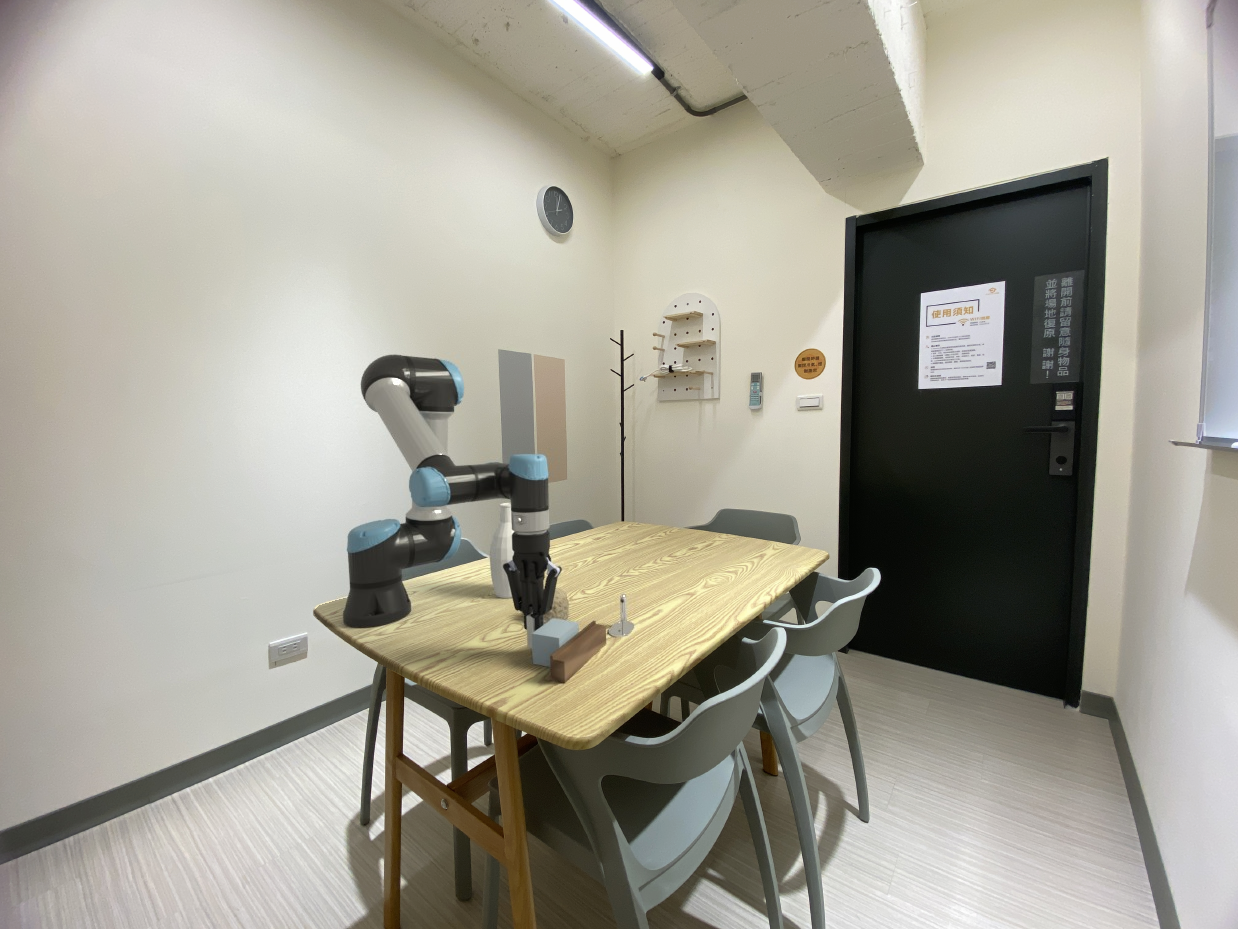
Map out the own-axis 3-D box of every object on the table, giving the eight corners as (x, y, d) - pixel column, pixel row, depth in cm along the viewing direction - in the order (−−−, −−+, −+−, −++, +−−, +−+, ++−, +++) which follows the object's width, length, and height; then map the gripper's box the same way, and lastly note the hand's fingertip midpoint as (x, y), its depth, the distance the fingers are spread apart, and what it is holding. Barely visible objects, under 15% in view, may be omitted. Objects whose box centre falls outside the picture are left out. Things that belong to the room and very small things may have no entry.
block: (532, 663, 91) (531, 633, 91) (553, 646, 99) (552, 618, 98) (559, 668, 89) (559, 638, 89) (579, 650, 96) (578, 622, 96)
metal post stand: (605, 636, 104) (616, 622, 111) (627, 638, 102) (636, 624, 110) (604, 602, 103) (616, 590, 111) (626, 604, 102) (636, 592, 109)
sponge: (549, 642, 110) (572, 609, 108) (517, 617, 111) (539, 585, 109) (562, 626, 119) (583, 595, 117) (532, 603, 120) (552, 572, 118)
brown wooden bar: (550, 680, 85) (549, 655, 85) (593, 641, 101) (593, 620, 100) (564, 683, 84) (564, 658, 84) (606, 644, 99) (605, 622, 99)
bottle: (503, 603, 125) (499, 508, 123) (483, 593, 133) (480, 504, 131) (538, 593, 132) (536, 503, 131) (518, 584, 140) (515, 499, 139)
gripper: (492, 532, 94) (496, 647, 95) (547, 537, 88) (551, 659, 90) (515, 525, 100) (519, 633, 102) (568, 529, 95) (571, 643, 97)
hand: (534, 645), depth 96 cm, fingers closed
